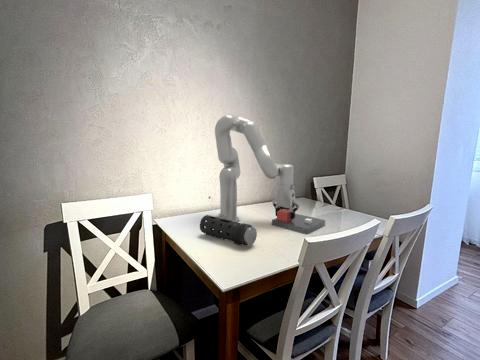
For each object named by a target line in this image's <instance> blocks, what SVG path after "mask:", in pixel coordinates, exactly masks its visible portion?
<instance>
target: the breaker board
mask: <svg viewBox="0 0 480 360" xmlns="http://www.w3.org/2000/svg"><path fill="white" fill-rule="evenodd" d="M307 218H308V219H312V223H310V224H309V223H305V219H307ZM271 226H275V227H279V228H283V229H286V230H290V231H293V232H297V233H301V234H304V235H310V234H311V233H313V232H315V231H317V230H319V229H320V228H322V227H326V219H321V218H317V217H313V216H307V215H303V214H299V213H296V212H295V218H294V219H292V220H290V221H288V222H284V221H280V220H277V217H276V218H273V219H271Z"/></svg>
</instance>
